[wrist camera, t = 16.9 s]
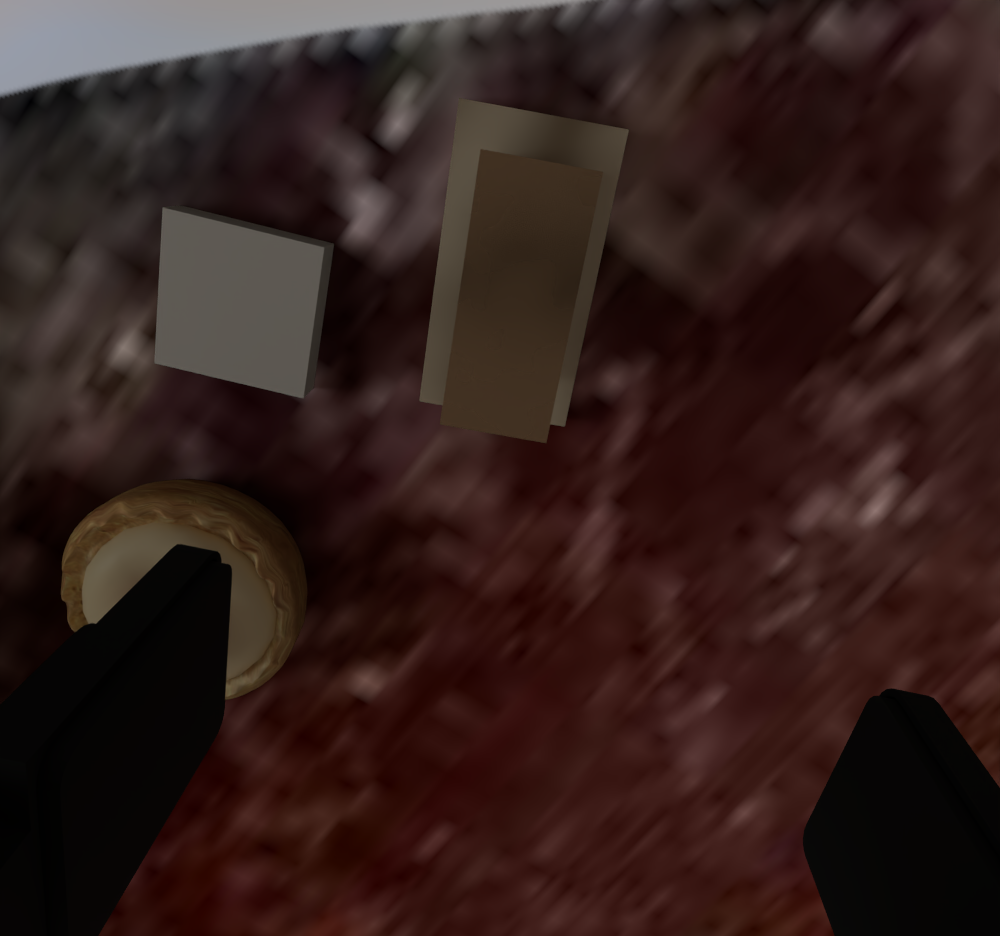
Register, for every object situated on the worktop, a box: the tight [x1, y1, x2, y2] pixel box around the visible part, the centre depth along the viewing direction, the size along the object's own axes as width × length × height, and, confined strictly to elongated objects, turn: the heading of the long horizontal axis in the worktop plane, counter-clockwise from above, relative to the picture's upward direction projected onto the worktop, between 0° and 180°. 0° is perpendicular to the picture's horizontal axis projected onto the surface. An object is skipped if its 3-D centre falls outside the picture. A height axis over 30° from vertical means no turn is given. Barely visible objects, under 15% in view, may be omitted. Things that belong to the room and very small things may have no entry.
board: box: [419, 98, 629, 427], centre depth 33 cm, size 7×13×1 cm, turn 170°
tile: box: [155, 205, 334, 398], centre depth 34 cm, size 2×7×7 cm
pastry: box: [61, 479, 307, 700], centre depth 36 cm, size 12×12×9 cm
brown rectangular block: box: [440, 149, 603, 443], centre depth 28 cm, size 4×9×9 cm, turn 170°
